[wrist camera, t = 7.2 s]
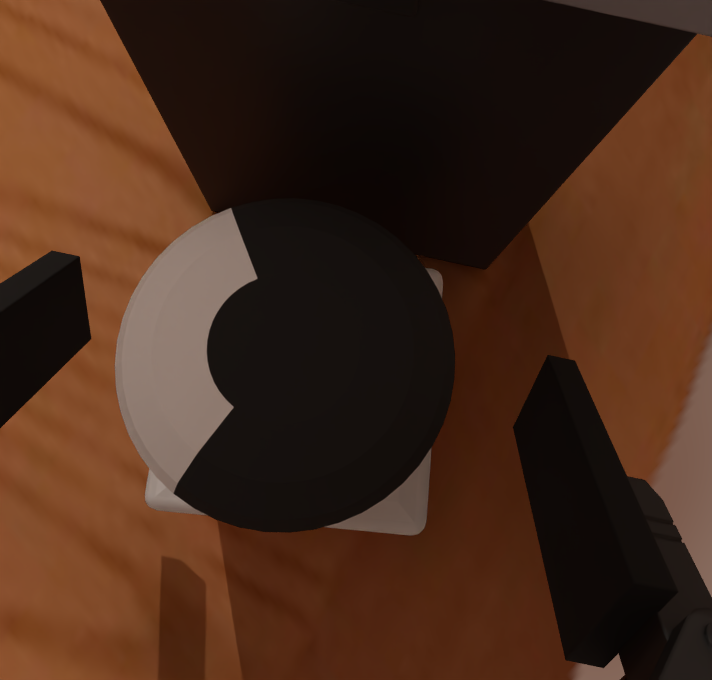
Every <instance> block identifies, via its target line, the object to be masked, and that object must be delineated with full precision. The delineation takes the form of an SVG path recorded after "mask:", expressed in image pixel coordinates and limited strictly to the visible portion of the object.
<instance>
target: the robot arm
mask: <svg viewBox="0 0 712 680" xmlns="http://www.w3.org/2000/svg"><path fill="white" fill-rule="evenodd" d="M90 340H91V334H90V327H89V320H88V313H87V306H86V299H85V291H84V284H83V277H82V270H81V263H80V256H75V255H70V254H65V253H61V252H56V251H51V252H49V253H48V254H46V255H45V256H43V257H41V258H40V259H38V260H37V261H35V262H34V263H32V264H30V265H29V266H27V267H26V268H24V269H23V270H21V271H19V272H18V273H16V274H15V275H13V276H12V277H10V278H8V279H7V280H5V281H4V282H2V283H1V284H0V428H1V427H2V426H3V425H4V424H5V423H6V422H7V421H8V420H9V419H10V418H11V417H12V416H13V415H14V414H15V413H16V412H17V411H18V410H19V409H20V408H21V407H22V406H23V405H24V404H25V403H26V402H27V401H28V400H29V399H30V398H32V397H33V396H34V395H35V394H36V393H37V392H38V391H39V390H40V389H41V388H42V387H43V386H44V385H45V384H46V383H47V382H48V381H49V380H50V379H51V378H52V377H53V376H54V375H55V374H56V373H57V372H58V371H59V370H60V369H61V368H62V367H63V366H64V365H65V364H66V363H67V362H68V361H69V360H70V359H71V358H72V357H73V356H74V355H75V354H76V353H77V352H78V351H79V350H80V349H81V348H82V347H83V346H84V345H86V344H87V343H88V342H89V341H90ZM513 429H514V434H515V438H516V443H517V447H518V451H519V456H520V460H521V465H522V469H523V474H524V478H525V482H526V487H527V491H528V496H529V500H530V505H531V509H532V513H533V518H534V522H535V527H536V531H537V536H538V540H539V544H540V549H541V553H542V558H543V562H544V567H545V571H546V575H547V580H548V584H549V589H550V593H551V598H552V602H553V607H554V611H555V615H556V620H557V624H558V629H559V633H560V638H561V642H562V646H563V651H564V655H565V660H567V661H572V662H577V663H582V664H587V665H592V666H597V667H602V668H604V667H605V666H606V665H607V664H608V663H609V662H610V661H611V660H612V659H613V658H614V657H615V656H616V655H617V654H618V653H619V656H620V659H621V662H622V666H623V669H624V672H625V675H624V676H623V677H622V678H621V679H620V680H712V597H711V595H710V593H709V591H708V590H707V587H706V586H705V583H704V581H703V579H702V578H701V575H700V574H699V571H698V569H697V567H696V565H695V563H694V562H693V560H692V557H691V555H690V553H689V552H688V549H687V548H686V545H685V544H684V543H682V542H681V540H682V538H681V536H680V534H679V532H678V530H677V528H676V526H675V525H673V520H672V518H671V516H670V514H669V512H668V510H667V508H666V506H665V504H664V502H663V500H662V499H661V498H660V496H659V495H658V494H657V493H656V492H655V491H654V490H653V489H652V488H651V486H650V485H649V484H648V483H647V482H646V481H645V480H642V479H638V478H633V477H628V476H627V475H626V473H625V471H624V469H623V467H622V464H621V462H620V460H619V458H618V455H617V453H616V451H615V449H614V447H613V444H612V442H611V440H610V438H609V435H608V433H607V431H606V429H605V426H604V424H603V422H602V420H601V418H600V415H599V413H598V411H597V409H596V406H595V404H594V402H593V400H592V398H591V395H590V393H589V391H588V389H587V386H586V384H585V382H584V380H583V377H582V375H581V373H580V371H579V369H578V366H577V364H576V362H575V361H574V360H569V359H565V358H560V357H555V356H550V355H548V356H547V358H546V360H545V362H544V364H543V366H542V368H541V370H540V372H539V374H538V376H537V378H536V380H535V383H534V385H533V387H532V389H531V391H530V393H529V395H528V397H527V399H526V401H525V403H524V405H523V407H522V409H521V412H520V414H519V416H518V418H517V420H516V422H515V424H514V426H513Z"/></svg>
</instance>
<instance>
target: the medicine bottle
mask: <svg viewBox="0 0 712 680" xmlns="http://www.w3.org/2000/svg"><path fill="white" fill-rule="evenodd" d="M442 292H443V280H442V275H441V274H440V273H439V272H438V271H437V270H434V269H431V268H425V267H424V266H423V265H422V264H421V262H420V261H419V260H418V258H417V257H416V256H415V255H414V253H413V252H412V251H411V250H410V249H409V248H408V247H407V246H405V245H404V244H403V243H402V242H401V241H400V240H399V239H398V238H397V237H396V236H394V235H393V234H392V233H390V232H389V231H388V230H386V229H385V228H384V227H382V226H381V225H379V224H378V223H376V222H374V221H372V220H370V219H369V218H367V217H365V216H363V215H361V214H359V213H356V212H354V211H351V210H349V209H346V208H344V207H341V206H338V205H334V204H330V203H326V202H322V201H316V200H307V199H299V198H285V199H269V200H262V201H255V202H250V203H247V204H243V205H239V206H236V207H232V208H229V209H227V210H225V211H222V212H220V213H218V214H215V215H213V216H210V217H209V218H207V219H205V220H204V221H202V222H200V223H198V224H197V225H195V226H193V227H192V228H190V229H189V230H187V231H186V232H185V233H184V234H182V235H181V236H180V237H178V238H177V239H176V240H175V241H173V242H172V243H171V244H170V245H169V246H168V247H167V248H166V249H165V250H164V251H163V252H162V253H161V254H160V255H159V256H158V257H157V258H156V260H155V261H154V262H153V263H152V265H151V266H150V267H149V269H148V270H147V271H146V273H145V274H144V275H143V277H142V278H141V280H140V282H139V284H138V286H137V287H136V289H135V291H134V293H133V295H132V296H131V298H130V301H129V304H128V306H127V309H126V311H125V314H124V316H123V319H122V323H121V327H120V331H119V336H118V340H117V348H116V359H115V377H116V391H117V396H118V401H119V406H120V411H121V414H122V417H123V420H124V423H125V425H126V428H127V431H128V434H129V436H130V438H131V440H132V442H133V443H134V445H135V447H136V449H137V451H138V453H139V455H140V456H141V458H142V459H143V460H144V462H145V463H146V464H147V466H148V467H149V468H150V469H149V474H148V480H147V485H146V491H145V502H146V503H147V504H148V506H149V507H150V508H153V509H155V510H158V511H168V512H178V513H188V514H198V515H208V516H210V517H212V518H214V519H216V520H219V521H222V522H225V523H228V524H231V525H234V526H237V527H240V528H246V529H252V530H257V531H263V532H297V531H305V530H314V529H318V528H322V527H329V528H339V529H349V530H359V531H370V532H380V533H390V534H400V535H410V536H411V535H417V534H419V533H420V532H421V531H422V530H424V527H425V524H426V521H427V506H428V492H429V478H430V463H431V449H432V446H433V444H434V442H435V440H436V438H437V436H438V434H439V431H440V429H441V427H442V425H443V423H444V420H445V417H446V414H447V410H448V407H449V404H450V401H451V395H452V389H453V383H454V373H455V351H454V342H453V333H452V329H451V325H450V321H449V317H448V313H447V310H446V307H445V305H444V303H443V300H442Z"/></svg>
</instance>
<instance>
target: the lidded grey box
mask: <svg viewBox="0 0 712 680" xmlns="http://www.w3.org/2000/svg"><path fill="white" fill-rule="evenodd" d="M100 1H101V3H102V5H103V6H104V8H105V10H106V12H107V14H108V16H109V18H110V20H111V22H112V23H113V25H114V27H115V29H116V31H117V33H118V35H119V37H120V39H121V40H122V42H123V44H124V46H125V48H126V50H127V52H128V54H129V56H130V57H131V59H132V61H133V63H134V65H135V67H136V69H137V71H138V73H139V74H140V76H141V78H142V80H143V82H144V84H145V86H146V88H147V90H148V91H149V93H150V95H151V97H152V99H153V101H154V103H155V105H156V107H157V108H158V110H159V112H160V114H161V116H162V118H163V120H164V122H165V124H166V125H167V127H168V129H169V131H170V133H171V135H172V137H173V139H174V141H175V142H176V144H177V146H178V148H179V150H180V152H181V154H182V156H183V158H184V159H185V161H186V163H187V165H188V167H189V169H190V171H191V173H192V175H193V176H194V178H195V180H196V182H197V184H198V186H199V188H200V190H201V192H202V193H203V195H204V197H205V199H206V201H207V203H208V205H209V207H210V209H211V210H212V211H217V212H222V211H225V210H227V209H229V208H232V207H236V206H239V205H243V204H247V203H250V202H255V201H262V200H269V199H285V198H299V199H307V200H316V201H322V202H326V203H330V204H334V205H338V206H341V207H344V208H346V209H349V210H351V211H354V212H356V213H359V214H361V215H363V216H365V217H367V218H369V219H370V220H372V221H374V222H376V223H378V224H379V225H381V226H382V227H384V228H385V229H386V230H388V231H389V232H390V233H392V234H393V235H394V236H396V237H397V238H398V239H399V240H400V241H401V242H402V243H403V244H404V245H405V246H407V247H408V248H409V249H410V250H411V251H412V252H413V253H414V254H417V255H422V256H426V257H431V258H436V259H440V260H445V261H450V262H454V263H459V264H464V265H468V266H473V267H477V268H482V269H487V268H488V267H489V265H490V264H491V263H492V262H493V261H494V260H495V259H496V258H497V256H498V255H499V254H500V253H501V252H502V251H503V250H504V249H505V248H506V246H507V245H508V244H509V243H510V242H511V241H512V240H513V239H514V238H515V236H516V235H517V234H518V233H519V232H520V231H521V230H522V229H523V227H524V226H525V225H526V224H527V223H528V222H529V221H530V220H531V219H532V217H533V216H534V215H535V214H536V213H537V212H538V211H539V210H540V209H541V207H542V206H543V205H544V204H545V203H546V202H547V201H548V200H549V199H550V197H551V196H552V195H553V194H554V193H555V192H556V191H557V190H558V188H559V187H560V186H561V185H562V184H563V183H564V182H565V181H566V180H567V178H568V177H569V176H570V175H571V174H572V173H573V172H574V171H575V170H576V168H577V167H578V166H579V165H580V164H581V163H582V162H583V161H584V160H585V158H586V157H587V156H588V155H589V154H590V153H591V152H592V151H593V149H594V148H595V147H596V146H597V145H598V144H599V143H600V142H601V141H602V139H603V138H604V137H605V136H606V135H607V134H608V133H609V132H610V131H611V129H612V128H613V127H614V126H615V125H616V124H617V123H618V122H619V120H620V119H621V118H622V117H623V116H624V115H625V114H626V113H627V112H628V110H629V109H630V108H631V107H632V106H633V105H634V104H635V103H636V102H637V100H638V99H639V98H640V97H641V96H642V95H643V94H644V93H645V92H646V90H647V89H648V88H649V87H650V86H651V85H652V84H653V83H654V81H655V80H656V79H657V78H658V77H659V76H660V75H661V74H662V73H663V71H664V70H665V69H666V68H667V67H668V66H669V65H670V64H671V63H672V61H673V60H674V59H675V58H676V57H677V56H678V55H679V54H680V52H681V51H682V50H683V49H684V48H685V47H686V46H687V45H688V44H689V42H690V41H691V40H692V39H693V38H694V37H695V36H696V35H697V34H702V35H706V36H711V37H712V0H100Z"/></svg>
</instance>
